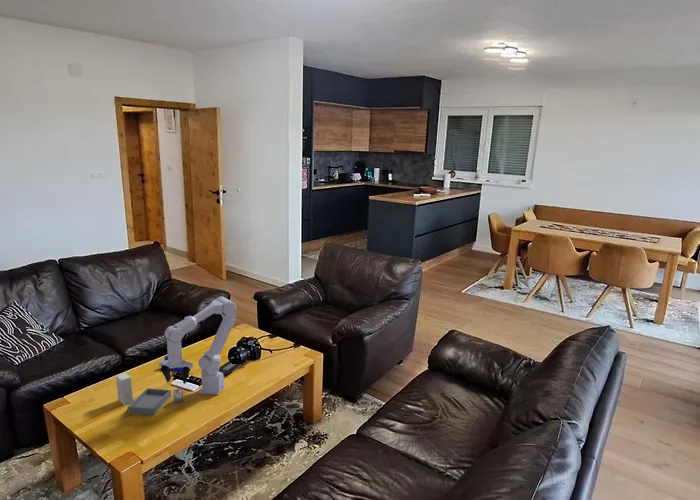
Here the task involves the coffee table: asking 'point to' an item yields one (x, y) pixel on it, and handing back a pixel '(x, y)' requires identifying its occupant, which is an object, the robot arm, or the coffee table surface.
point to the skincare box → (124, 388)
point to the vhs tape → (229, 368)
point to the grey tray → (149, 401)
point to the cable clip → (177, 369)
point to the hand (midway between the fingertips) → (176, 381)
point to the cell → (178, 396)
